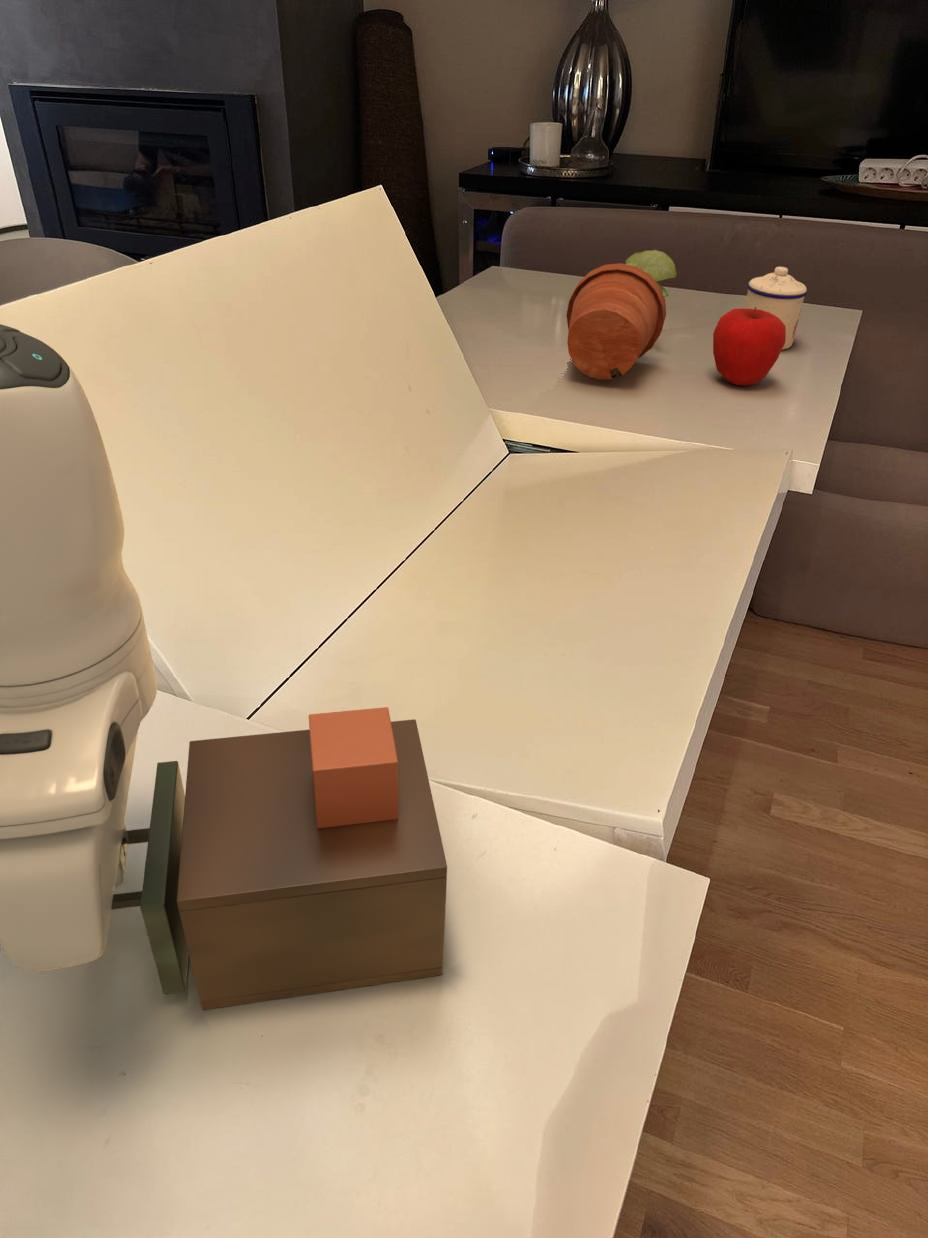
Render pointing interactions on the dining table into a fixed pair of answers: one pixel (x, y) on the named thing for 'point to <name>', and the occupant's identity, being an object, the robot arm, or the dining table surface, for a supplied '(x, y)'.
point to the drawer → (162, 880)
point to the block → (354, 767)
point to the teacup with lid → (778, 299)
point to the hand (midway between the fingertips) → (111, 866)
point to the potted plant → (618, 313)
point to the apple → (747, 345)
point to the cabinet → (304, 875)
